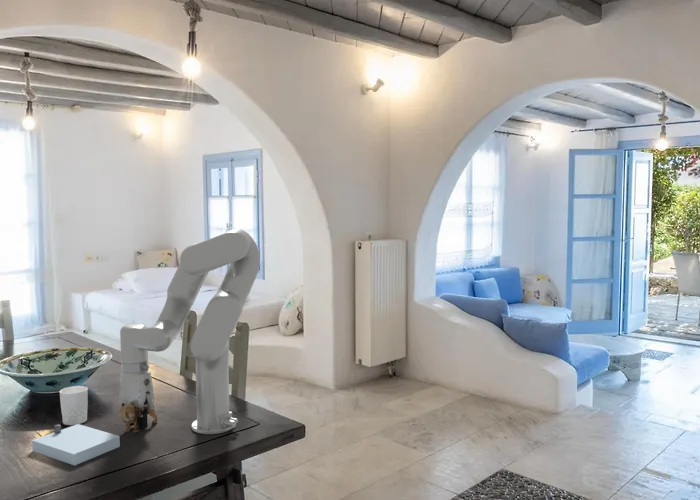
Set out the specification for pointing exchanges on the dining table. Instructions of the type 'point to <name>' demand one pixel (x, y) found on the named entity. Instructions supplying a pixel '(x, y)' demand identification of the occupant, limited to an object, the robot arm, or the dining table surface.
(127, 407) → the lion figurine
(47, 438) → the plinth
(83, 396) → the white cup
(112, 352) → the dining table surface
